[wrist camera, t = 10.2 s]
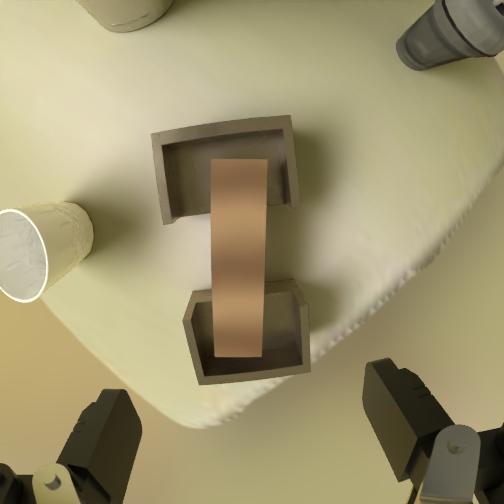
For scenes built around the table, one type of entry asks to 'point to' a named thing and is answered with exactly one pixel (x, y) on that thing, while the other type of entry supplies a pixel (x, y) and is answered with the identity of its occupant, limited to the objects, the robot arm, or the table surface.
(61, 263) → the white cup
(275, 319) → the bracket
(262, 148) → the bracket
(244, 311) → the rail
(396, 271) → the table surface
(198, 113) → the table surface
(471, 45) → the beverage cup
